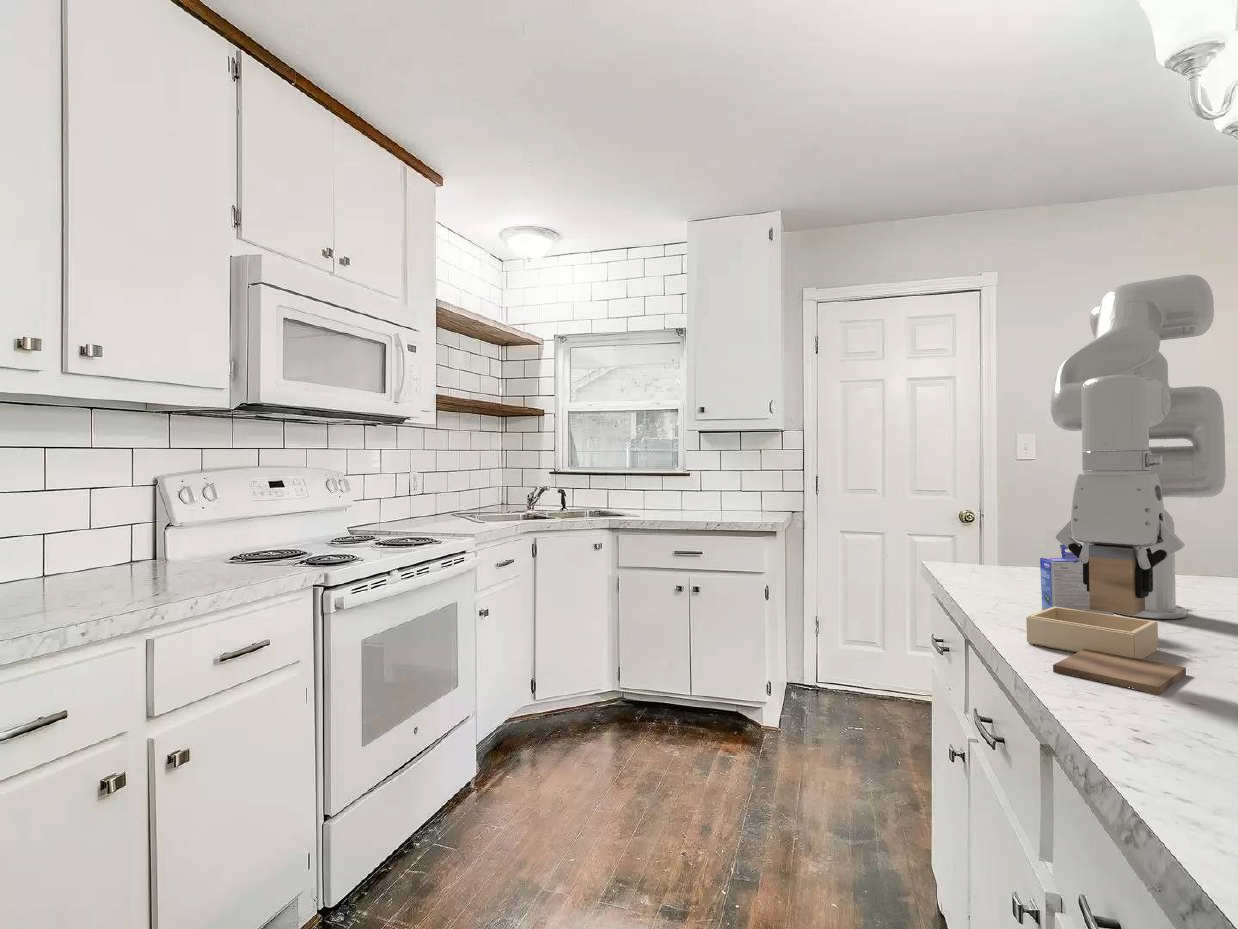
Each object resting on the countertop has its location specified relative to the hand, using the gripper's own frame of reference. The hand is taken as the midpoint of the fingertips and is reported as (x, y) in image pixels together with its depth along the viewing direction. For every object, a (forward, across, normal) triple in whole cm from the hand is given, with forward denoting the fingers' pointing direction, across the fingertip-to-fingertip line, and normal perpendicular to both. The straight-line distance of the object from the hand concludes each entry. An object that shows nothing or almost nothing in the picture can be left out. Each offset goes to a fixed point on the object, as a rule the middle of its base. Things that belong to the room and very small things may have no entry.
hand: (1117, 592), depth 92 cm
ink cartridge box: (+12, +13, -24) cm, 29 cm away
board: (+11, 0, 0) cm, 11 cm away
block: (+2, 0, 0) cm, 2 cm away
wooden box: (+11, +7, -12) cm, 18 cm away
